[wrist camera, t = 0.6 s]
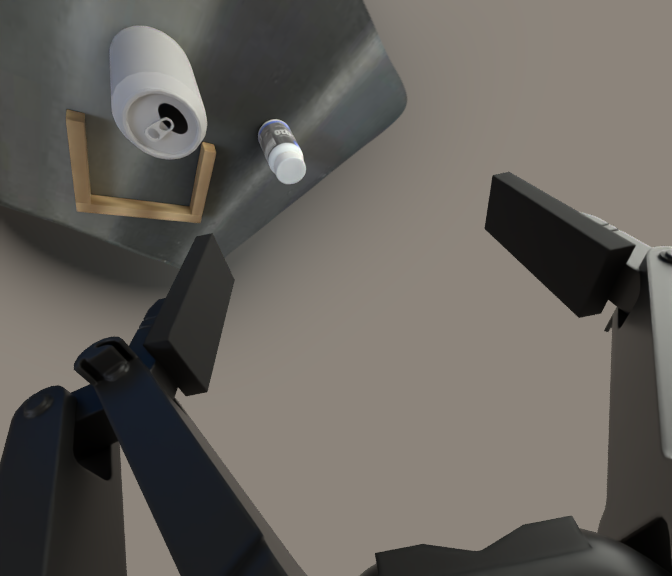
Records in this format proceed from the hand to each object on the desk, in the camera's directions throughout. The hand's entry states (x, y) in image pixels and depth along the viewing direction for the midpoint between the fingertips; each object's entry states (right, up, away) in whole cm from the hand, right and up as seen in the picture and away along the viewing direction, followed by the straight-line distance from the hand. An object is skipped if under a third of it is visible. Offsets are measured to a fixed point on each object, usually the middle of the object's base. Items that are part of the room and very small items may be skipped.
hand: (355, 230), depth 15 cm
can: (-20, +21, +18) cm, 34 cm away
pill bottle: (-10, +19, +29) cm, 36 cm away
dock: (-26, +13, +26) cm, 39 cm away
